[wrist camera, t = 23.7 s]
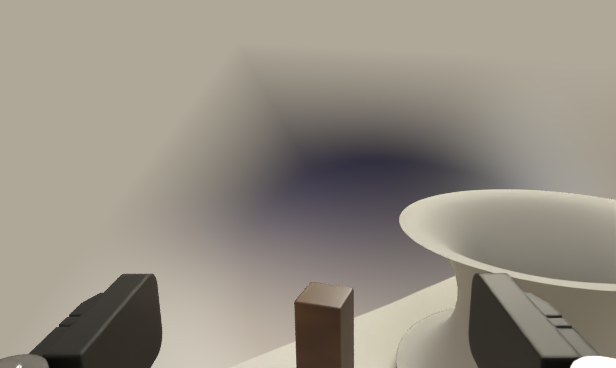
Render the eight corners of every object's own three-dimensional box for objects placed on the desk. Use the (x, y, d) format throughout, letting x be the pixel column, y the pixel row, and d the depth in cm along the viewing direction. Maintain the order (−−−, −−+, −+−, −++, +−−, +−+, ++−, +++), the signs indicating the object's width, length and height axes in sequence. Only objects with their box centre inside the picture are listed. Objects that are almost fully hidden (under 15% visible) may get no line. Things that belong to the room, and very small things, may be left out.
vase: (502, 297, 60) (511, 179, 56) (761, 413, 39) (802, 237, 35) (344, 362, 47) (343, 215, 44) (602, 583, 26) (641, 337, 23)
